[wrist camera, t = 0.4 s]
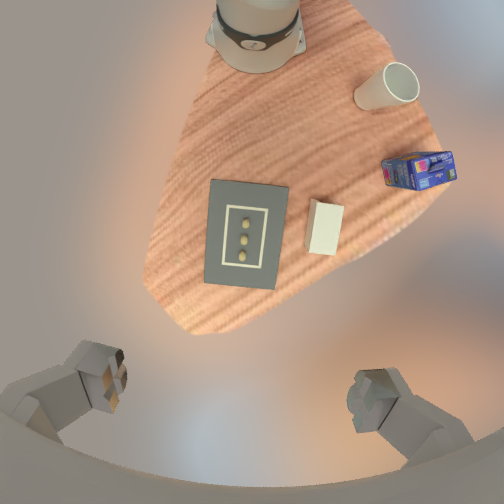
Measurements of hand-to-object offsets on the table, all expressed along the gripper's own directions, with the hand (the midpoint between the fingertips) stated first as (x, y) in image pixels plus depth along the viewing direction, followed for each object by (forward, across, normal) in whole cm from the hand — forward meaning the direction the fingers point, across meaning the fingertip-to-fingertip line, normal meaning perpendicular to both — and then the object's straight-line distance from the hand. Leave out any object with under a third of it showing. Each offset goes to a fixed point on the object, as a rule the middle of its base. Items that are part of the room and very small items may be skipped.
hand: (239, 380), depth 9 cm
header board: (+45, 0, +7) cm, 45 cm away
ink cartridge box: (+45, -30, -11) cm, 55 cm away
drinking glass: (+45, -20, -23) cm, 54 cm away
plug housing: (+45, -14, +3) cm, 47 cm away
